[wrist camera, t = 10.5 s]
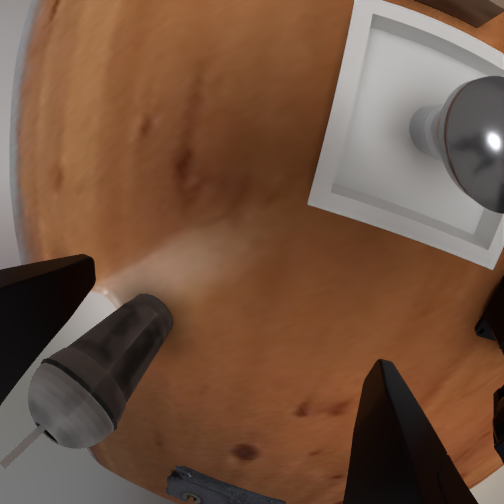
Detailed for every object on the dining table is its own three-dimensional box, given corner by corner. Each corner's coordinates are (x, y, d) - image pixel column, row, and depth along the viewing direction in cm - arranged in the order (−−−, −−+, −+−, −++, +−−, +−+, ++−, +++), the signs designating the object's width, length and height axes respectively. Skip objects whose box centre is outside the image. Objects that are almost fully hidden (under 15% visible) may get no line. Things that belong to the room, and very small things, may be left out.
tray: (520, 86, 12) (547, 84, 9) (474, 247, 17) (492, 270, 14) (354, 13, 14) (355, -7, 11) (313, 190, 19) (307, 204, 16)
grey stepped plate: (268, 515, 47) (262, 533, 43) (171, 481, 50) (163, 497, 46) (293, 500, 40) (286, 521, 36) (173, 458, 43) (162, 478, 39)
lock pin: (472, 111, 13) (563, 115, 5) (454, 178, 15) (531, 231, 7) (407, 83, 14) (463, 51, 6) (389, 153, 16) (432, 184, 8)
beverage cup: (192, 350, 28) (75, 525, 11) (132, 337, 30) (13, 475, 13) (177, 284, 25) (7, 474, 8) (113, 277, 27) (-44, 415, 10)
